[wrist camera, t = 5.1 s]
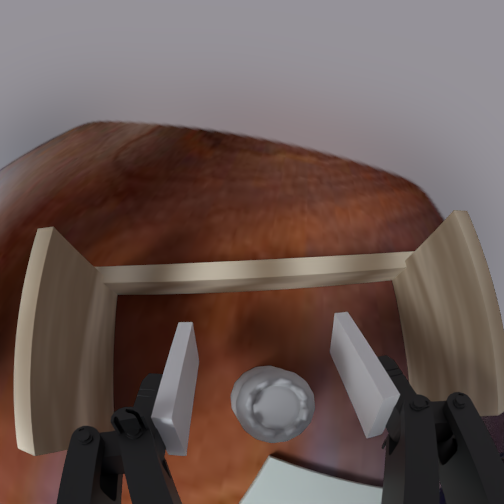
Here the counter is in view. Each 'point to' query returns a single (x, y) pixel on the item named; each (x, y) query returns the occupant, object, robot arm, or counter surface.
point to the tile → (305, 487)
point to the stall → (237, 280)
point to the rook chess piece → (272, 403)
